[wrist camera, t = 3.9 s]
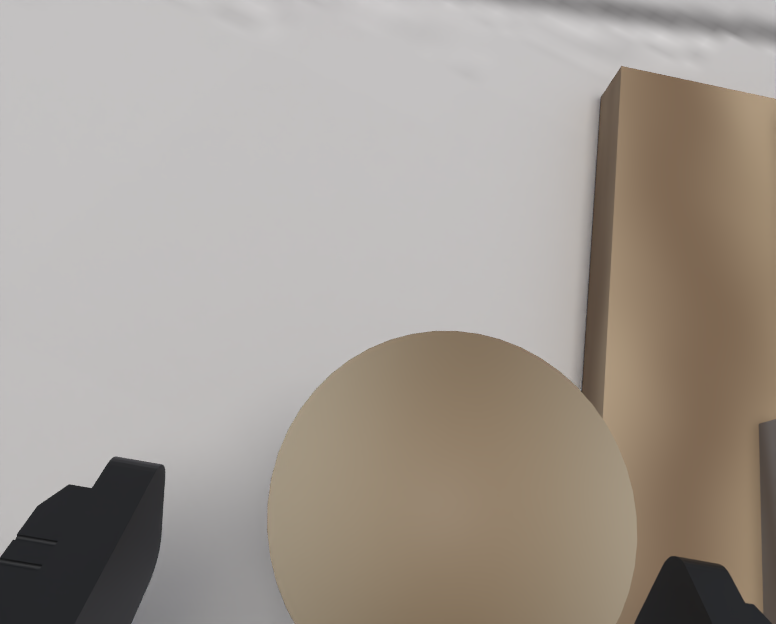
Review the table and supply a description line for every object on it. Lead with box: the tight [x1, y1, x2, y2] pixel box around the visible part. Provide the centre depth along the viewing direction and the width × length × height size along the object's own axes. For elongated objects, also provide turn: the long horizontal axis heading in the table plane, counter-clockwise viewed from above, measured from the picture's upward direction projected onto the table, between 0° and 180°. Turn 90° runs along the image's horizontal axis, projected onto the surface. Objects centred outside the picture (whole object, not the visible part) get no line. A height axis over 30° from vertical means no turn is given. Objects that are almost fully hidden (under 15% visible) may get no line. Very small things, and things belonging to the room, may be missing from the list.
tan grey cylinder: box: [267, 331, 637, 624], centre depth 12 cm, size 4×4×10 cm
